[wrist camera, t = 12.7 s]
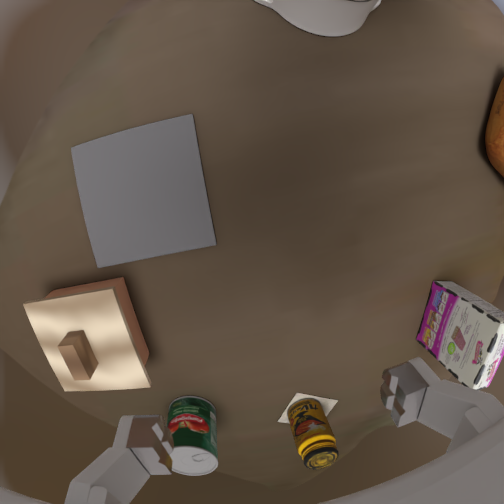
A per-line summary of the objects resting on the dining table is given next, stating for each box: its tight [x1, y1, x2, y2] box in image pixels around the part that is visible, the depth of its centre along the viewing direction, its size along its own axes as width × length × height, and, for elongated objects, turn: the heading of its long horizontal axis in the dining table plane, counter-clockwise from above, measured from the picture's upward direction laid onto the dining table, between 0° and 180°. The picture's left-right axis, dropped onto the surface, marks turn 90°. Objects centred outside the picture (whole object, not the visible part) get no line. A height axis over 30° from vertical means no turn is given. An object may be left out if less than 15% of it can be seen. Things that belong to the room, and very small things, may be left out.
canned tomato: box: [167, 396, 218, 476], centre depth 40 cm, size 8×8×11 cm
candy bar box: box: [416, 281, 504, 390], centre depth 37 cm, size 11×5×16 cm, turn 175°
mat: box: [71, 114, 217, 268], centre depth 35 cm, size 16×16×1 cm
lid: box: [23, 286, 152, 391], centre depth 31 cm, size 14×14×4 cm
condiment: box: [278, 393, 338, 469], centre depth 42 cm, size 7×8×12 cm
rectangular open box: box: [44, 277, 149, 367], centre depth 36 cm, size 12×12×6 cm
